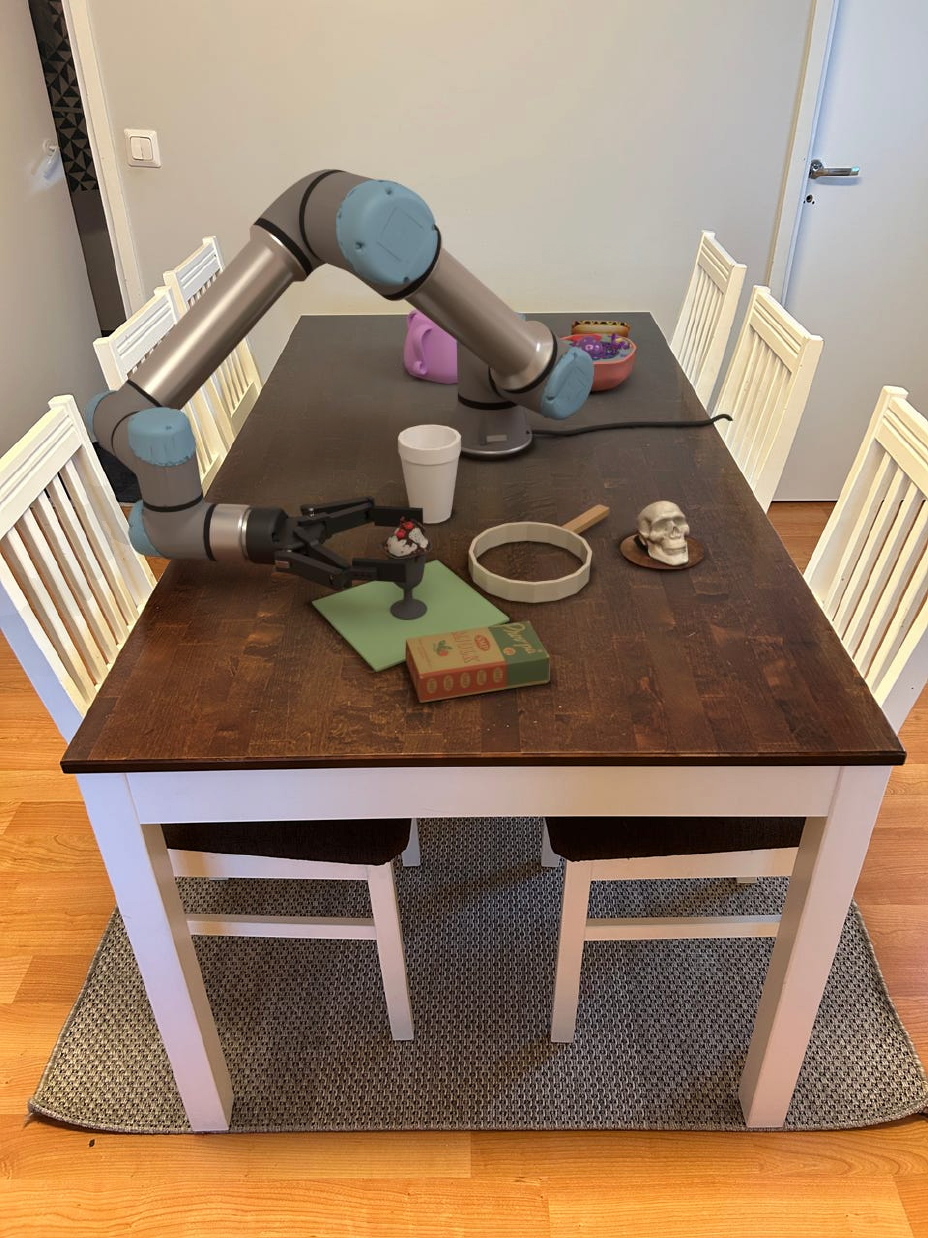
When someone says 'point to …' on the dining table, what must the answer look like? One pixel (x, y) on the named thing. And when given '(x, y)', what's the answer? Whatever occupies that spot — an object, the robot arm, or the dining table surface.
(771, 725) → the dining table surface
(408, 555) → the sundae
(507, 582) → the pan
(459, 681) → the carton
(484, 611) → the mat
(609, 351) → the cell model
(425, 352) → the teapot
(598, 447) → the dining table surface
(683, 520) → the skull
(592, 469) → the dining table surface
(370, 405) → the dining table surface
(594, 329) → the hot dog
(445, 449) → the foam cup
